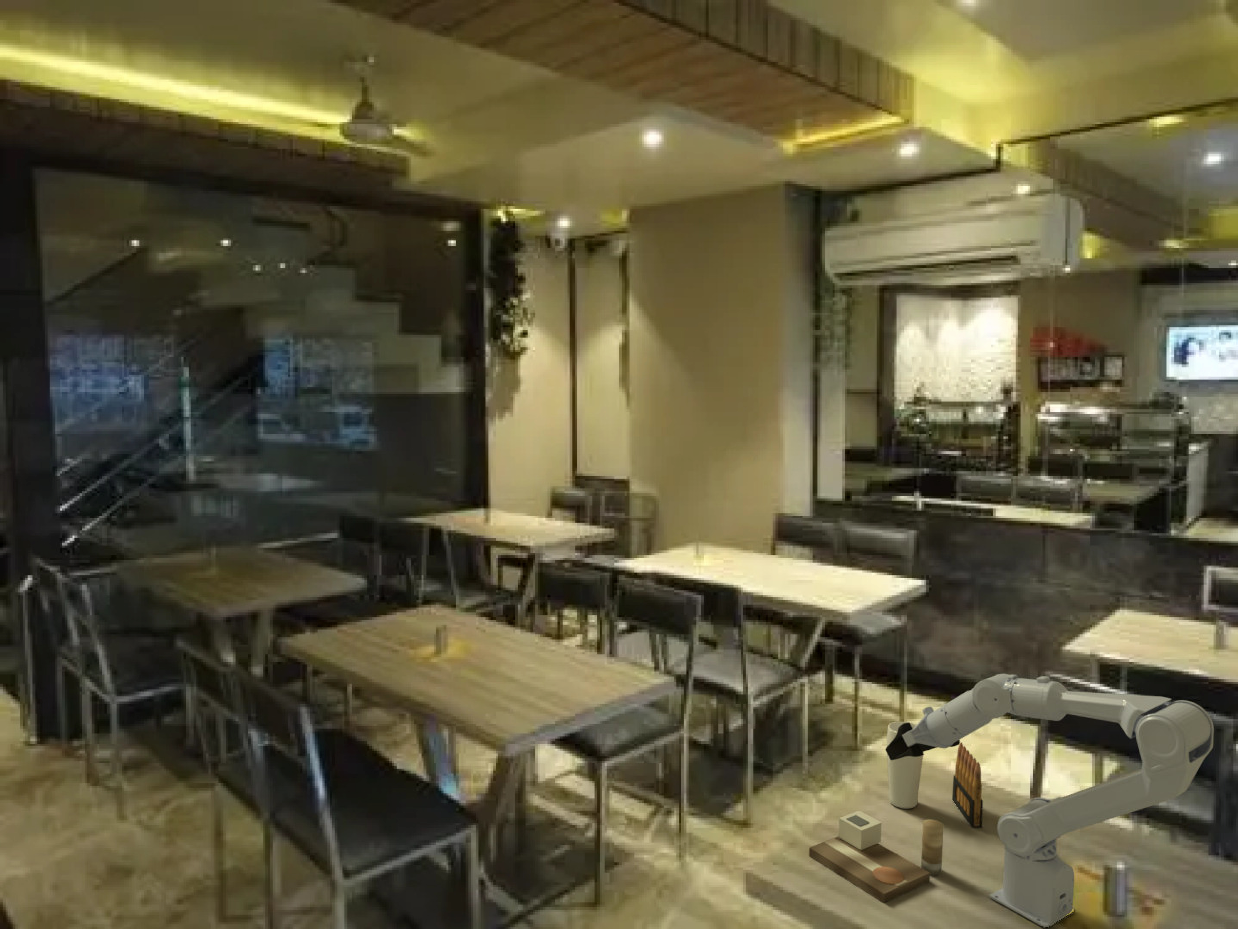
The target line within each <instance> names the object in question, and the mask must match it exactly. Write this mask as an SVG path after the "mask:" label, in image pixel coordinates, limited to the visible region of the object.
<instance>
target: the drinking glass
mask: <svg viewBox="0 0 1238 929" xmlns="http://www.w3.org/2000/svg"><path fill="white" fill-rule="evenodd" d="M908 722H909V723H910V724H911V726H912V728H914V727H915V726H916V725H917V724H918V723H917V724H916V723H913V722H910V721H908ZM908 722H907V721H894V722H890V723H889V724H888V725H887V733H886V734H887V735H886V747H887V746H888V745H889V744H890V743H891V742H892V740H893V739H894V738H895V736H896V734H897V732H898V728H899V726H900V725H902V724H904V723H908ZM924 752H925V751H924ZM924 752H923V754H924V755H925V753H924ZM924 755H922V756H919V757H912V756H906V757H903V758H900V759H896V760H890V758H889V756H888V754H887V753H886V756H887V757H886V758H887V779H888V801H889V803H890V804H891V805H893V806H894V807H897V808H899V809H903V810H904V809H914V808H916V807H917V805H918V801H919V791H920V790H919V788H920V783H921V781H920V780H921V775H922V767H923V759H924Z"/></svg>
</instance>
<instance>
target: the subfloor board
mask: <svg viewBox="0 0 1238 929" xmlns="http://www.w3.org/2000/svg"><path fill="white" fill-rule="evenodd" d="M808 851H809V852H808V854H809V857H810V858H812V859H813V860H815V861H816V862H818V863H819V864H821V865H823V866H824V867H826V868H828V869H829V870H831V871H832V872H834V873H835V874H837V875H839V876H840V877H842V878H843V879H846V880H847V881H849V882H850V883H851V884H854V886H857V888H859V889H861V890H862V891H864V892H866V893H867V894H869V895H870V896H872V897H874V898H875V899H877V900H878V901H880V902H881V903H884V904H885V903H887V902H888V901H891V900H893V899H895V898H897V897H900V896H902V895H904V894H905V893H908V892H910V891H912V890H914V889H917V888H919V887H921V886H924V884H927V883H930V879H931V875H930V872H928V871H926V870H924V869H922V868H921V866H919V865H916V863H913V862H912V861H910V860H908V859H907V858H904V857H903V856H901V855H899V854H897V853H896V852H894V851H892V850H890V849H888V848H887V847H885V846H883V845H881V844H880V843H877V844H875V845H872V846H870V847H867V848H865V849H862V850H860V849H858V848H856V847H854V846H853V845H851V844H849V843H848V842H846V841H844V840H842V839H841V838H839V835H837V836H836V837H833V838H831V839H828V840H825V841H822V842H820V843H818V844H815V845H812V846H810V847H809V850H808Z"/></svg>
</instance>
